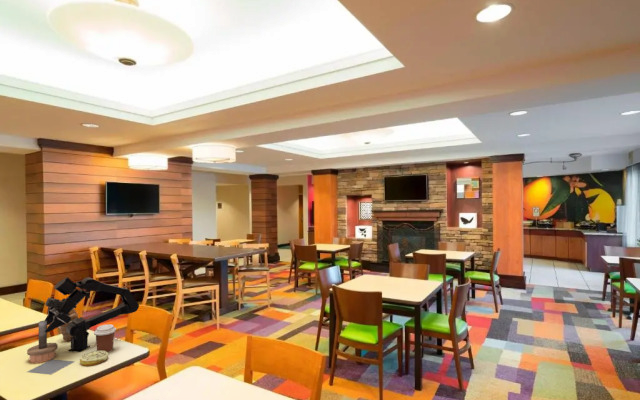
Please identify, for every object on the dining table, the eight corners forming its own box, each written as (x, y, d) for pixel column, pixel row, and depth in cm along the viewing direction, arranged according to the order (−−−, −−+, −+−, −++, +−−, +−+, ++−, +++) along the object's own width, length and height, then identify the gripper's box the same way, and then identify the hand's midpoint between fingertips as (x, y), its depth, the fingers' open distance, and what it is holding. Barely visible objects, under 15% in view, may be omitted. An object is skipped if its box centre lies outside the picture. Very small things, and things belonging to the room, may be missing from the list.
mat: (75, 362, 160) (75, 361, 160) (50, 375, 148) (50, 374, 148) (51, 359, 161) (51, 359, 161) (26, 372, 150) (26, 372, 150)
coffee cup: (109, 355, 166) (110, 330, 166) (89, 356, 166) (89, 330, 166) (119, 347, 176) (119, 323, 175) (100, 347, 175) (100, 323, 175)
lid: (57, 351, 161) (57, 322, 161) (26, 357, 155) (26, 327, 154) (57, 343, 170) (57, 316, 170) (27, 349, 163) (28, 320, 163)
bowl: (59, 355, 166) (59, 347, 166) (41, 364, 157) (41, 355, 157) (43, 353, 167) (43, 345, 167) (24, 362, 158) (24, 353, 158)
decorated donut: (111, 361, 161) (111, 353, 161) (83, 370, 153) (83, 361, 153) (103, 354, 168) (103, 346, 168) (77, 362, 160) (77, 353, 160)
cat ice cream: (81, 339, 185) (82, 304, 185) (66, 344, 178) (66, 309, 178) (70, 336, 188) (70, 302, 188) (54, 342, 181) (55, 307, 181)
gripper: (53, 287, 173) (24, 315, 165) (62, 295, 160) (31, 325, 152) (72, 300, 178) (45, 327, 170) (83, 308, 166) (53, 338, 158)
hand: (43, 329), depth 162 cm, fingers open, 9 cm apart
